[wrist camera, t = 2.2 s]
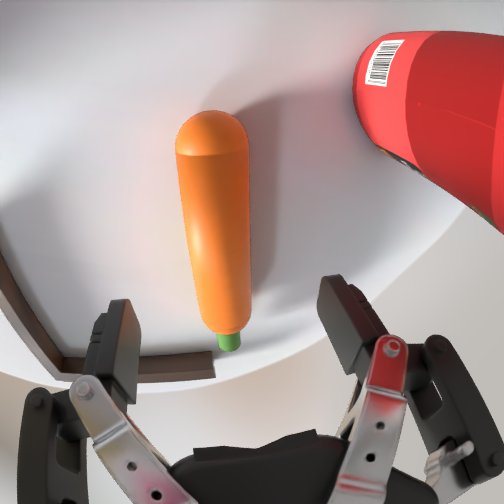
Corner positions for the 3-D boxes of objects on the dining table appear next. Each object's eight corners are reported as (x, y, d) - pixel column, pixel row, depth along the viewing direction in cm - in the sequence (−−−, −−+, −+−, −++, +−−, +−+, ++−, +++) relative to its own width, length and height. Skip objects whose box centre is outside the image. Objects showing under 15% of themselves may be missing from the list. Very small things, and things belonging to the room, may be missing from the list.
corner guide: (-25, 223, 11) (-38, 237, 10) (183, 179, 14) (182, 192, 12) (60, 366, 21) (56, 381, 19) (213, 360, 23) (215, 378, 22)
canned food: (362, 170, 15) (504, 292, 6) (329, 37, 10) (533, 34, 2) (446, 142, 15) (571, 222, 6) (430, 32, 10) (585, 63, 1)
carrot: (175, 111, 12) (168, 119, 9) (242, 105, 12) (254, 112, 9) (205, 329, 20) (209, 364, 18) (247, 323, 21) (255, 357, 18)
